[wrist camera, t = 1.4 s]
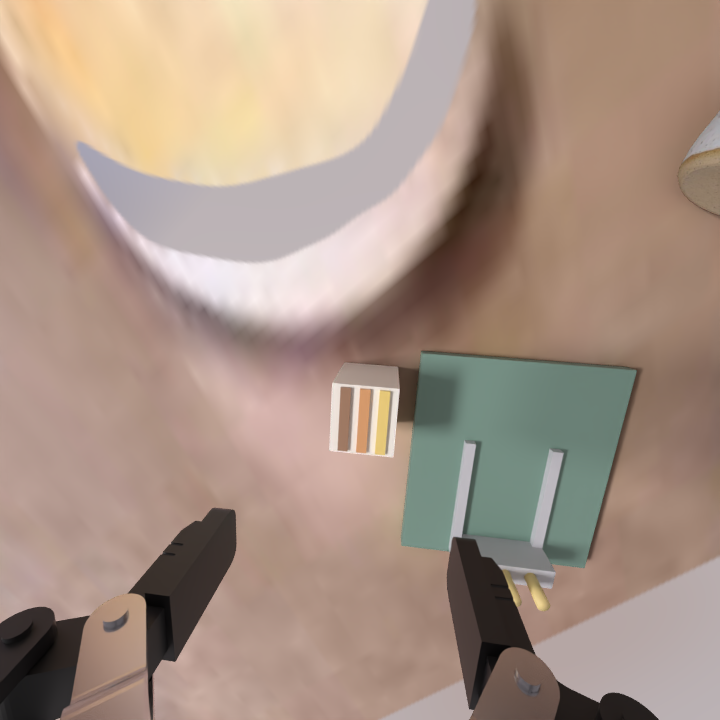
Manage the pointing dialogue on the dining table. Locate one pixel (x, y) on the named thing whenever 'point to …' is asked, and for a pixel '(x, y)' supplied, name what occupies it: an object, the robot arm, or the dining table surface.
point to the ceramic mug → (703, 169)
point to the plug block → (364, 409)
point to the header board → (513, 460)
